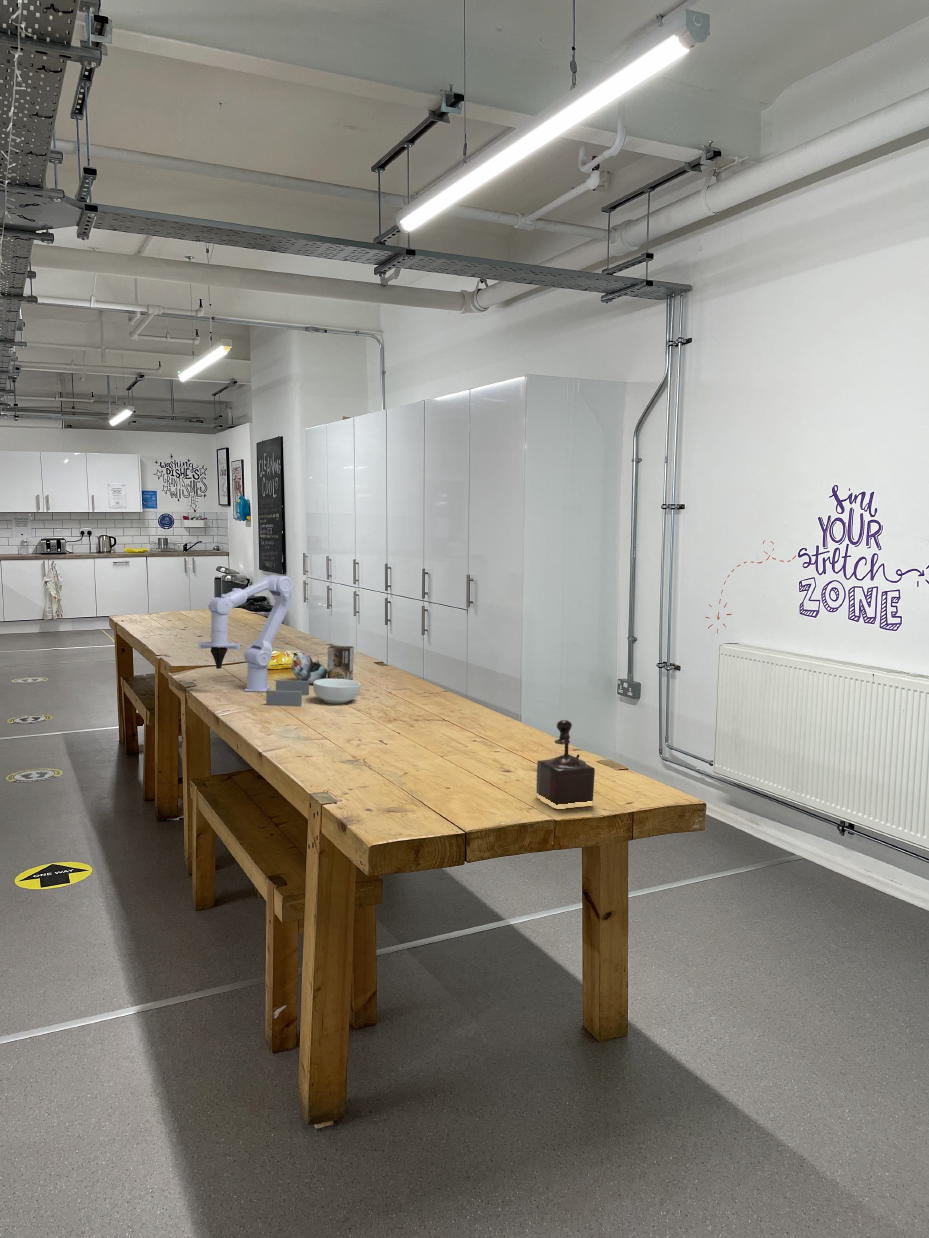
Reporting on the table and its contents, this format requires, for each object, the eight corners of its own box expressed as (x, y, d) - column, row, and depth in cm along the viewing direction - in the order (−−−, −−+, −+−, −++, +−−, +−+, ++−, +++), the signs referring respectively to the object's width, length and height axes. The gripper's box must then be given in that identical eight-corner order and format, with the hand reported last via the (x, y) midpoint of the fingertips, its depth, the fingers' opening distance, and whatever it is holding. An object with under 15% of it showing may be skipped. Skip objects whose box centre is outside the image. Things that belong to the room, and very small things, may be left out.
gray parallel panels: (276, 693, 325) (276, 679, 325) (308, 694, 326) (309, 681, 326) (266, 705, 304) (266, 690, 304) (301, 706, 305) (301, 692, 304)
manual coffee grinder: (596, 806, 208) (601, 732, 207) (555, 810, 204) (559, 734, 202) (563, 787, 223) (568, 717, 221) (524, 791, 218) (528, 719, 216)
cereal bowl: (349, 708, 306) (350, 688, 305) (305, 703, 309) (305, 684, 309) (366, 699, 322) (367, 680, 321) (324, 695, 326) (324, 676, 325)
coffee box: (353, 687, 345) (354, 646, 343) (349, 690, 338) (350, 648, 337) (330, 685, 345) (331, 644, 344) (326, 688, 339) (327, 647, 337)
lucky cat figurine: (325, 686, 344) (310, 656, 339) (298, 696, 345) (282, 666, 341) (331, 669, 357) (316, 640, 352) (305, 678, 359) (289, 650, 354)
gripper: (196, 631, 313) (195, 669, 314) (237, 633, 314) (236, 670, 315) (201, 629, 320) (200, 666, 321) (241, 630, 321) (240, 667, 322)
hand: (218, 668), depth 319 cm, fingers closed
